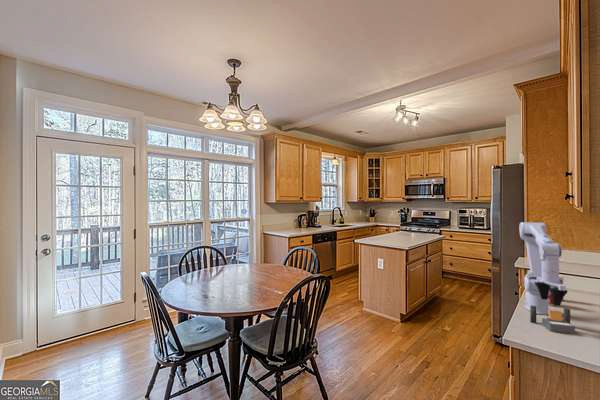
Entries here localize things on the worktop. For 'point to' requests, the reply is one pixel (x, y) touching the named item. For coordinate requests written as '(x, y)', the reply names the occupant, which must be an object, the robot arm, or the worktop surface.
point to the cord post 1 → (533, 314)
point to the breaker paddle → (555, 315)
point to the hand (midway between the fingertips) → (550, 302)
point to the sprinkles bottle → (561, 281)
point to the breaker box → (558, 326)
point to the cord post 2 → (567, 315)
